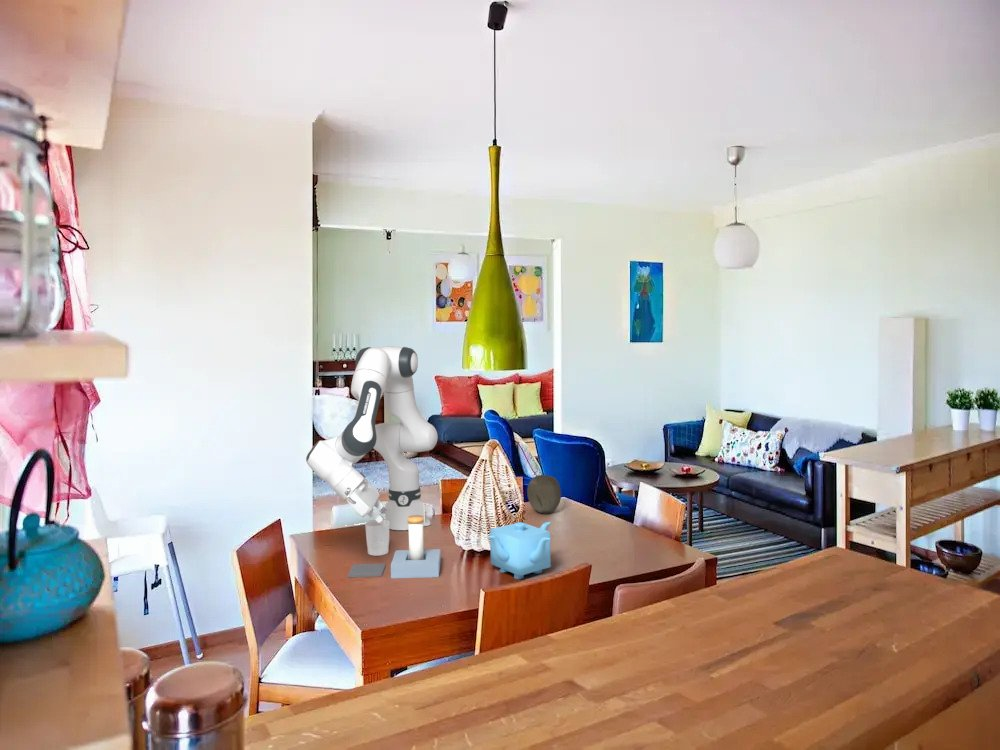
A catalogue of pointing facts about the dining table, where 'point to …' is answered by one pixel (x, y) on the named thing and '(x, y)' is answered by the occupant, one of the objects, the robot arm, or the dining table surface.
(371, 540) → the white cup
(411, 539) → the plug
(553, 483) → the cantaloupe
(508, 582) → the dining table surface
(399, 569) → the socket
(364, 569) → the mat
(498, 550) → the teakettle
